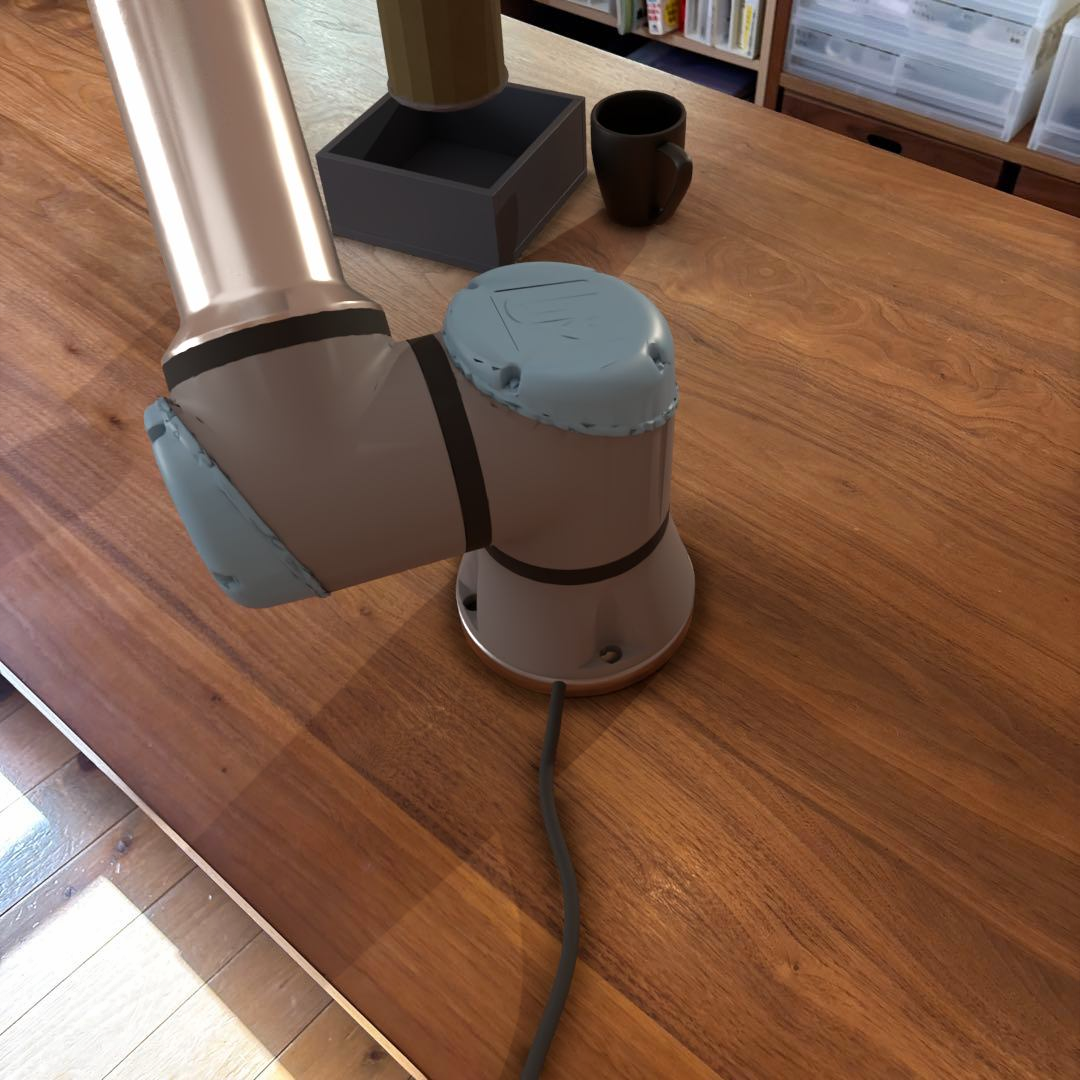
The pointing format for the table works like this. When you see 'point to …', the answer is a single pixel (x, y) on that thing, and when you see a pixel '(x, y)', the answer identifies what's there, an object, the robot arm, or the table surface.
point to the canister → (443, 52)
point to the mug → (640, 156)
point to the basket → (456, 175)
